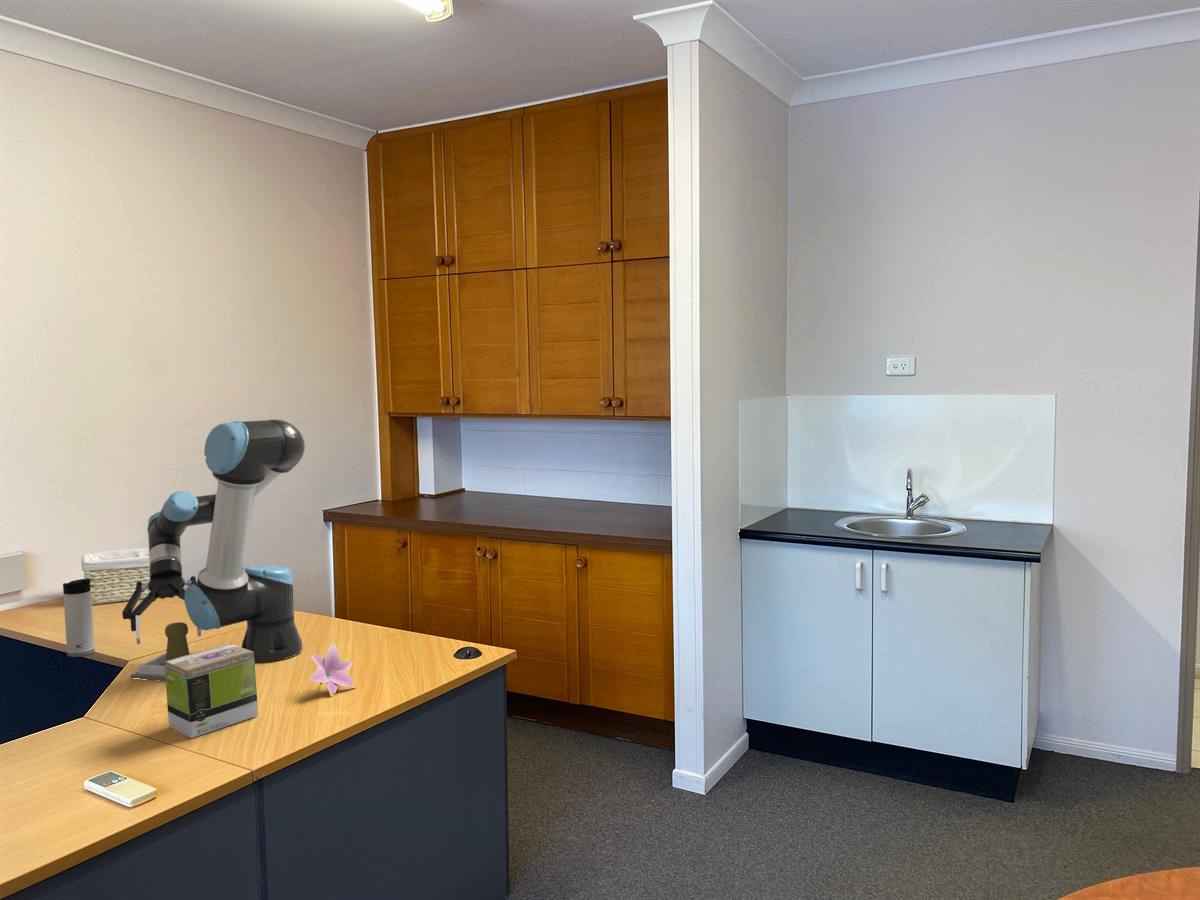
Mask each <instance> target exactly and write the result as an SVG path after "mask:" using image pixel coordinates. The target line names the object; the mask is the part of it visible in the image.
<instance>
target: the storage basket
mask: <svg viewBox="0 0 1200 900" xmlns="http://www.w3.org/2000/svg"><path fill="white" fill-rule="evenodd" d="M80 563H81V570H82V572H83V577H84V579H90V588H91V600H92V606H94V605H100V604H110V603H112V604H113V603H118V602H127V601H129V600H130V598H131V596H132V595H133V593H134V591H135V590H136V584H137V582H138V581H140V582H142V583H149V582H150V565H149V547H144V548H143V547H142V548H131V549H120V550H119V549H118V550H106V551H105V550H104V551H96V552H89V553H87V552H85V553H83V554H82V557H81V562H80ZM149 592H150V590H149V589H146V590H145V591H144V592H143V593H142V594H141V596H140V598H139V600H140V601H141V600H144V599H145V598H146V597H147V596H148V594H149ZM139 600H138V601H139Z"/></svg>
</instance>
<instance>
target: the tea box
mask: <svg viewBox="0 0 1200 900" xmlns="http://www.w3.org/2000/svg"><path fill="white" fill-rule="evenodd" d="M256 675H257V674H256V662H255V661H254V652H253V651H250V650H247V649H244V648H242V647H241V646H239V645H236V644H233V643H232V642H231V643H227V644H224V645H220V646H214V647H212V648H209V649H204V650H201V651H197V652H194V653H193V654H190V655H186V656H182V657H179V658H175V659H172V660H168V661H165V678H166V681H165V685H166V686H165V688H166V691H165V692H166V703H167V704H166V705H167V715H168V717H167V718H168V726H169V727H170V728H171V729H173V730H174V731H176V732H178V733H179V734H182V735H184V736H185V737H188V738H190V739H194V738H197V737H199V736H202V735H205V734H209V733H212V732H215V731H216V730H219V729H223V728H225V727H228V726H232V725H234V724H238V723H240V722H244V721H246V720H249V719H253V718H255V717H258V716H259V707H258V691H257V689H258V688H257V678H256Z"/></svg>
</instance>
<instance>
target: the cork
mask: <svg viewBox="0 0 1200 900" xmlns="http://www.w3.org/2000/svg"><path fill="white" fill-rule="evenodd" d="M164 633H165V637H166V638H167V644H166V652H167V653H166V652H165V653H166V661H168V660H172V659H175V658H179V657H182V656H186V655H190V654H189V653H190V649H189V645H188V639H187V635H188V633H189V627H188V624H187V623H185V622H179V621H177V622H172V623H170V624H169V623H168V624H167V625H166V626H165V629H164Z"/></svg>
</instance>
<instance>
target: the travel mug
mask: <svg viewBox="0 0 1200 900" xmlns="http://www.w3.org/2000/svg"><path fill="white" fill-rule="evenodd" d="M62 588H63V589H62V590H63V611H64V623H65V624H64V625H65V637H66V638H65V639H66V655H67V656H68V657H72V658H78V657H79V658H80V657H85V656H89V655H91V654H93V653H94V652H95V650H96V649H95V633H94V622H93V621H94V619H93V618H94V617H93V605H92V600H91V588H90V579H85V578H81V579H74V580H70V582H64V583H62Z"/></svg>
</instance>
